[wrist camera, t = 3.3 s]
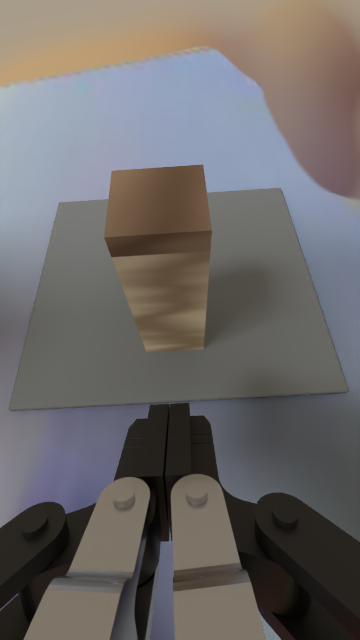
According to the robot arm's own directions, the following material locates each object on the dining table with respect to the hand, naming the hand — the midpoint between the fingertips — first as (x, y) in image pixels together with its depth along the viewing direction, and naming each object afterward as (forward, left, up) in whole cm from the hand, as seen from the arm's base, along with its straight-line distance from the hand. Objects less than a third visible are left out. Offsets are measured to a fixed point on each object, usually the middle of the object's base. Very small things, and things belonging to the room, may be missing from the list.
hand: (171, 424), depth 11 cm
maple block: (0, +9, -9) cm, 13 cm away
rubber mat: (0, +14, -9) cm, 17 cm away
